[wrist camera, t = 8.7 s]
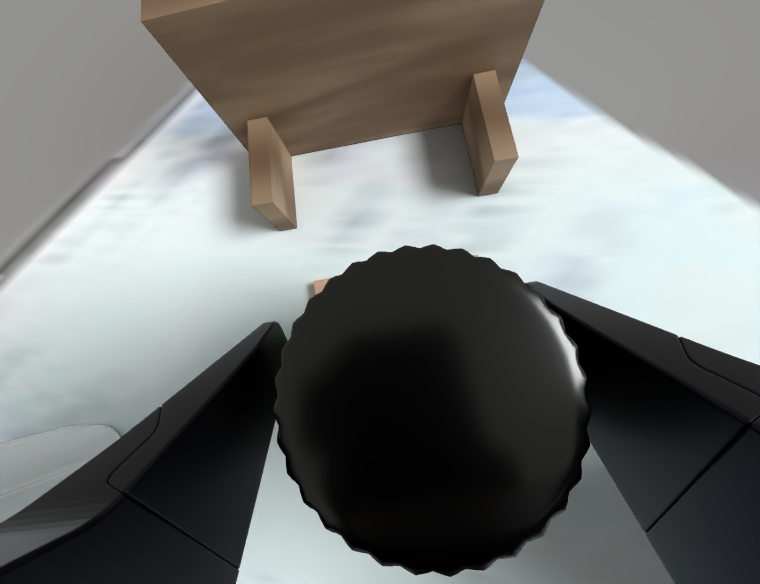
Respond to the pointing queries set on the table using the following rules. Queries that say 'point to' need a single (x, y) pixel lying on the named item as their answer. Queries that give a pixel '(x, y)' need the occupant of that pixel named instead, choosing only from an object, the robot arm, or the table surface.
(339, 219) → the table surface
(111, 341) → the table surface
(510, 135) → the walnut shelf nook
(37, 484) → the photo printer
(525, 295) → the supplement bottle
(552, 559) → the table surface
